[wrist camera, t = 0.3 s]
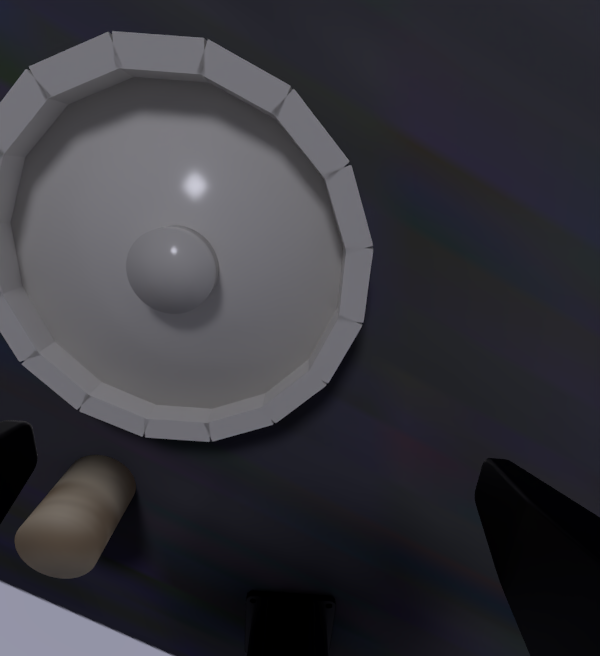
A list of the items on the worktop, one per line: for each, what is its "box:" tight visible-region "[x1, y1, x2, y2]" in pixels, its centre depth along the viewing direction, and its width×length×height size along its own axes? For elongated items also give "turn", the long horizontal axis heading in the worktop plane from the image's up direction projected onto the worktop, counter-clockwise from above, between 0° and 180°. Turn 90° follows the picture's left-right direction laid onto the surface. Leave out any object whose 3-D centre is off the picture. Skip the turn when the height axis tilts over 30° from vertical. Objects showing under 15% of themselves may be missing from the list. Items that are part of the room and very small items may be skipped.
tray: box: [0, 31, 373, 442], centre depth 19 cm, size 18×18×3 cm
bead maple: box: [15, 455, 136, 579], centre depth 23 cm, size 4×4×5 cm
